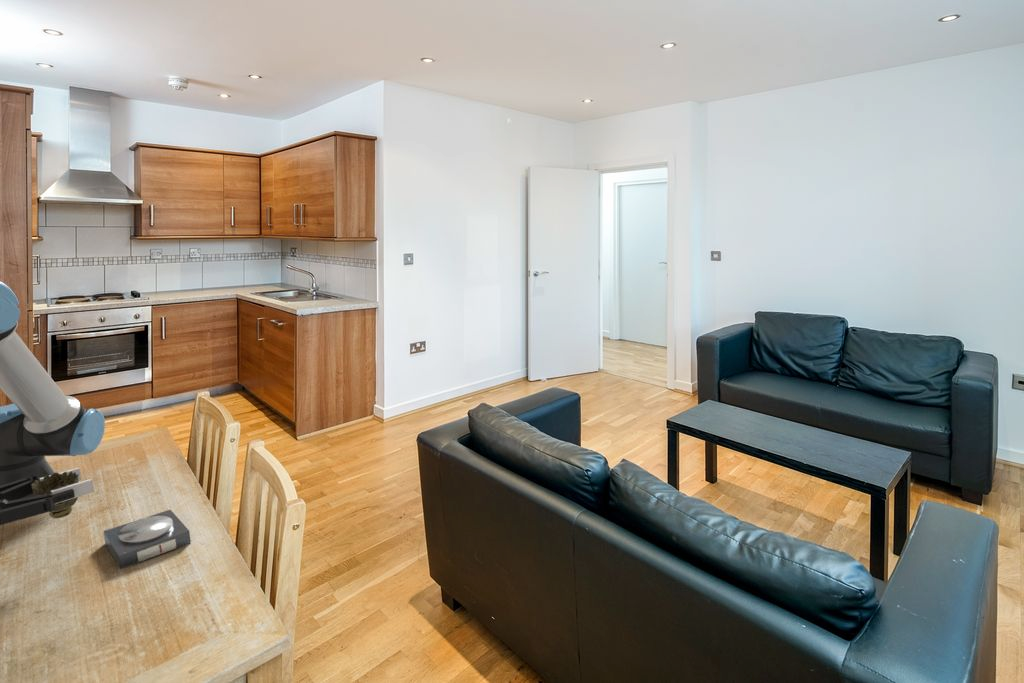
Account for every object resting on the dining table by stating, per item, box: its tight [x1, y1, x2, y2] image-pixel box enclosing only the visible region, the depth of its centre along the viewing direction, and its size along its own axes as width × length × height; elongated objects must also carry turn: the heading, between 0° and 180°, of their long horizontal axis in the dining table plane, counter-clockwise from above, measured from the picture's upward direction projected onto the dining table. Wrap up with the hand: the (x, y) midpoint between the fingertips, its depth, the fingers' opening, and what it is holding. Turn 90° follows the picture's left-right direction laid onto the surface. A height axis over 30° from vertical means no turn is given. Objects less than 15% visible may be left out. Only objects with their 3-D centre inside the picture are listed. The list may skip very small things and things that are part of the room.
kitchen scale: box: [103, 509, 191, 569], centre depth 120 cm, size 14×13×4 cm
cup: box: [31, 471, 80, 519], centre depth 112 cm, size 8×7×8 cm
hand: (85, 479), depth 115 cm, fingers closed on cup, 7 cm apart
